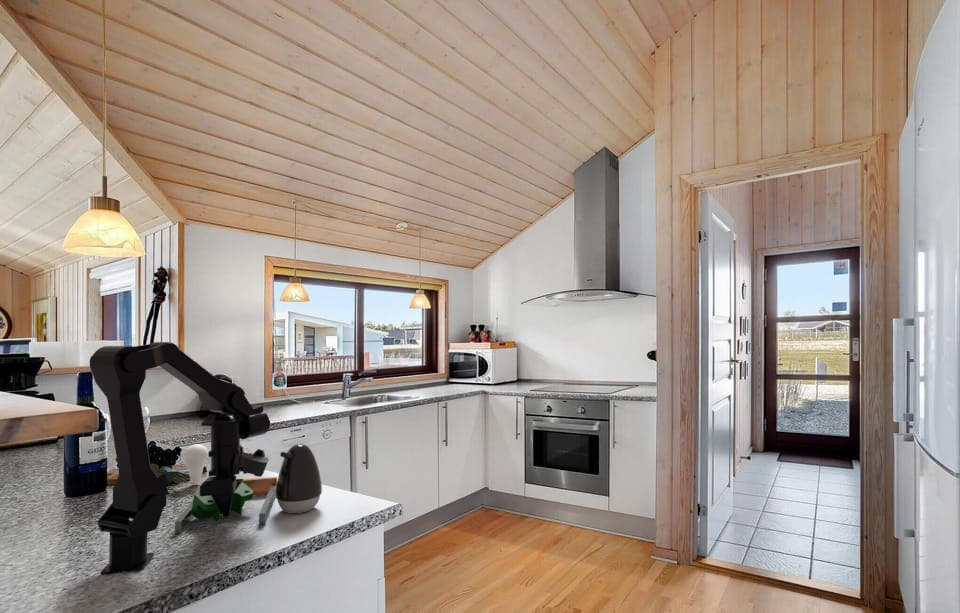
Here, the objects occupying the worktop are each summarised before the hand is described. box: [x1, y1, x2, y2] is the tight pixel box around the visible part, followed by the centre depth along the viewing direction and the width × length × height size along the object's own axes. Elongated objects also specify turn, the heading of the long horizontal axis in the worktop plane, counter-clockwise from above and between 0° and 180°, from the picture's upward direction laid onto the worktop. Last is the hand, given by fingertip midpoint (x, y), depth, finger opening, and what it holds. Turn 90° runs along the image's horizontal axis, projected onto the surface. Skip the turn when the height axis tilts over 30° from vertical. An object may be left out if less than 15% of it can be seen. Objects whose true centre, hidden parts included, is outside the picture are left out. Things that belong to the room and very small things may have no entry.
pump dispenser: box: [275, 443, 323, 515], centre depth 124 cm, size 10×10×15 cm
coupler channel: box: [174, 476, 278, 535], centre depth 124 cm, size 24×17×4 cm
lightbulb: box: [182, 443, 209, 486], centre depth 144 cm, size 6×6×11 cm
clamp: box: [192, 482, 254, 523], centre depth 120 cm, size 12×6×9 cm, turn 137°
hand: (226, 516), depth 115 cm, fingers closed
